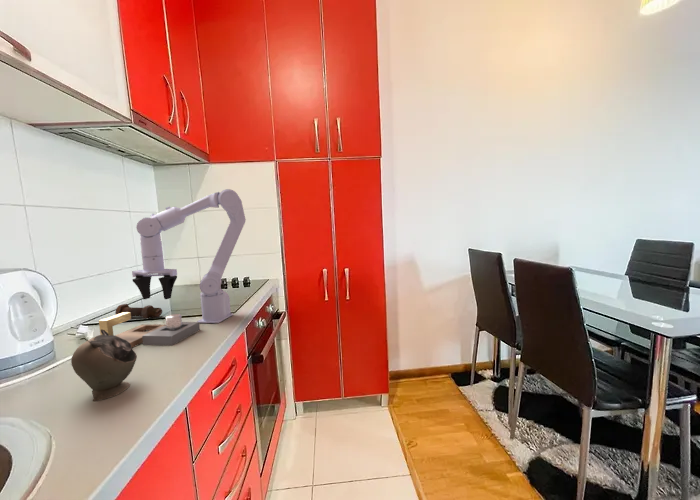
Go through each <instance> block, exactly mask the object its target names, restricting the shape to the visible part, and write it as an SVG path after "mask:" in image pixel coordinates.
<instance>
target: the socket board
mask: <svg viewBox="0 0 700 500" xmlns="http://www.w3.org/2000/svg"><path fill="white" fill-rule="evenodd" d="M165 325H166V324H152V323H151V324H140V325H137V326H135V327H133V328H131V329H128V330H124V331H123V332H119V333H118V334H115V335H114V336H117V337H120V338H121V339H124V340H126V341H128V342H129V343H130V344H131V346H132V348H135V347H136V346H138V345H141V344H143V338H142V336H143V335H145V334H147V333H150V332H152V331H154V330H156V329H158V328H161V327H163V326H165Z"/></svg>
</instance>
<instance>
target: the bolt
mask: <svg viewBox="0 0 700 500" xmlns="http://www.w3.org/2000/svg"><path fill="white" fill-rule="evenodd" d="M123 312H131V318H132V317H137V318H139V317H141V318H143V319H144V318H148V319H150V318H149V317H151V318H153V317H154V318H155V317H156V318H158V317H160V316H161V315H162V314H163V310H162V308H161V307H154V306H153V305H150V304H149V305H145V306H144V307H130V306H129V304H127V303H124V304H123V303H122V304H120V305H118V306H117V307H116V309H115V315H117V314H120V313H123Z"/></svg>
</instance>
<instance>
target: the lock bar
mask: <svg viewBox="0 0 700 500" xmlns="http://www.w3.org/2000/svg"><path fill="white" fill-rule="evenodd" d="M130 320H132V317H131V312H123V313H120V314H117V315H116V314H114V315H112V316H109V317H106V318H102V319H99V320H98V326H99V327H98V328H99V335H102V333H101V329H102V330H105V331H106V332H107V333H108V335H114V326H118V325H120V324H122V323H125V322H127V321H130Z"/></svg>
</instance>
